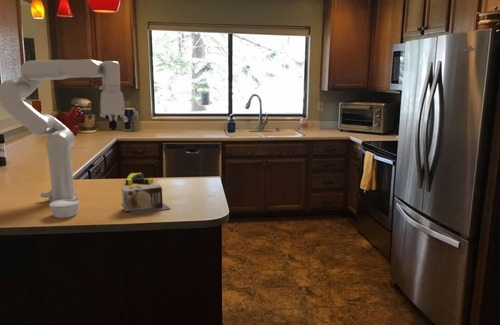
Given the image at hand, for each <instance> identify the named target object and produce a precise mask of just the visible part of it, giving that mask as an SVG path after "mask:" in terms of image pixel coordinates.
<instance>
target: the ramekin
mask: <svg viewBox="0 0 500 325" xmlns="http://www.w3.org/2000/svg"><path fill="white" fill-rule="evenodd" d="M79 205H80V201H79V200H77V199H76V200H73V199H64V200H57V201H53V202H50V203H49V204H48V207H49V209H50V212H51V215H52V216H53V217H54V218H56V219H57V218H58V219H66V218H72V217H74V216H76V215H77V214H78V212H79Z"/></svg>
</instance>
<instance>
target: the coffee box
mask: <svg viewBox="0 0 500 325" xmlns="http://www.w3.org/2000/svg"><path fill="white" fill-rule="evenodd" d="M162 188H163V187H162V186H161V185H160V184H146V185H138V186H137V185H136V186H127V187H126V186H125V187H121V192H122V195H121V196H122V203H123V205H122V208H123V211H124V212H130V211H132V210H141V209H150V208H160V207H163V204H164V203H163V189H162ZM162 203H163V204H162Z"/></svg>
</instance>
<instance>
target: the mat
mask: <svg viewBox="0 0 500 325" xmlns="http://www.w3.org/2000/svg"><path fill="white" fill-rule="evenodd" d="M162 204H163V207H160V208H150V209H141V210H132V211H129V212H130V214H132V215H133V216H137V215H142V214H150V213H155V212H162V211H163V212H164V211H168V210H171V208H170V207H169V206H168V205H166V204H165V203H163V202H162ZM121 205H122V206H123V202H122V203H121Z"/></svg>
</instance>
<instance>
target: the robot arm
mask: <svg viewBox="0 0 500 325" xmlns="http://www.w3.org/2000/svg"><path fill="white" fill-rule="evenodd" d="M120 69H121V67H120V63H119V61H115V60H104V61H101V60H97V59H96V60H95V59H91V58H90V59H87V58H85V59H46V60H45V59H42V60H40V59H39V60H27V61H25V62H23V63H22V65H21V66H20V73H21V75H20V76H19V77H18V78H17V79H7V80H4V81H3V82H1V83H0V105H1V107H2V108H3V109H4V110H5V111H6V112H7V114H9V115H11V116H12V117H13V118H14V119H15V120H16V121H18V122H19V123H20V124H21V125H22V126H24V127H25V128H26V129H27V130H29V132H30V133H31V134H33V135H34V136H37V137H43V136H45V137H47V138H46V141H45V148H46V153H47V157H48V166H49V176H50V177H49V178H50V189H49V191H47V192H40V194H39V195H40V197H41V198H48V201H49V202H50V203H51V202H53V201H57V200H64V199H73V200H77V199H79V195H78V194H77V193H75V189H74V187H75V186H74V176H73V175H74V174H73V163H72V162H73V161H72V156H71V149H72V148H73V147H74V145H75V144H76V137H75V136H76V135H74V133H73V131H71V130H70V129H69V128H68V127H67V126H66V125H65V124H64V123H62V122H61V121H59V120H58V119H57V118H56V117H55V116H53V115H51V114H49V113H41V112H39V111H38V110H36V109H35V108H34V107H33V106H31V104H30V103H28V102H26V101H24V100H23V99H25V98H28V97H29V96H31V94H33V93H34V91H35V90H36V89H37V88H39V86H40V85H42V83H43V82H44V81H54V80H57V81H58V80H66V79H72V78H73V79H74V78H101V77H102V85H100V86H98V87H99V88H98V89H99V90H101V91H102V92H101V93H100V102H99V107H100V108H99V110H100V113H99V117H101V118H106V119H107V121H108V127H109V129H110V131H113V130H114V131H116V128H117V127H118V126H117V122H118V120H119V119H120V118H123V117H125V116H126V115H125V111H126V110H125V99H124V94H123V93H124V92H123V91H121V70H120ZM112 116H113V118H112Z"/></svg>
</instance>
